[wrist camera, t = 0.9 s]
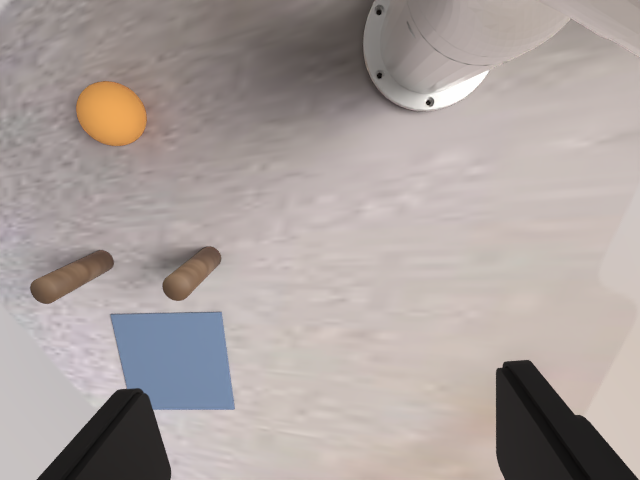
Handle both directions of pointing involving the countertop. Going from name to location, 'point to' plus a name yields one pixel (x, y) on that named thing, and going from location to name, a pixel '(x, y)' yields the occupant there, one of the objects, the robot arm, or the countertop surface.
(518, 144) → the countertop surface
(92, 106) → the ball
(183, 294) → the post
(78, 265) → the post
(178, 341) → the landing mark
